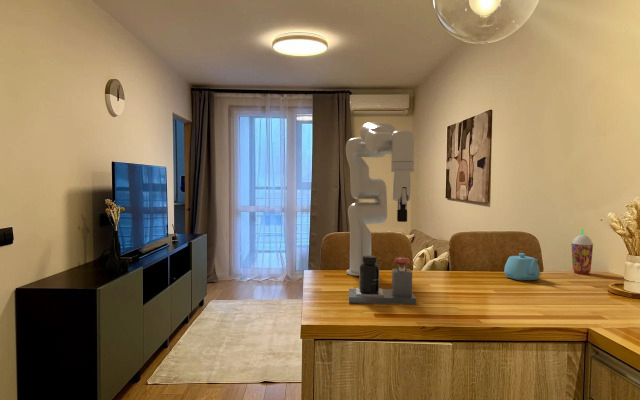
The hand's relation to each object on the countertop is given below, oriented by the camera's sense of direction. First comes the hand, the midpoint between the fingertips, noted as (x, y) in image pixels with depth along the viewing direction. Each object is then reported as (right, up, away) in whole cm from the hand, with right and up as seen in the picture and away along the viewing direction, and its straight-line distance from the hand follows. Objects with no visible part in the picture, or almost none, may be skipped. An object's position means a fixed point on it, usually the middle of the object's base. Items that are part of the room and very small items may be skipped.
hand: (402, 221), depth 144 cm
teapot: (+58, -26, +34) cm, 72 cm away
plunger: (0, -24, +1) cm, 24 cm away
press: (-7, -27, +1) cm, 28 cm away
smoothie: (+89, -26, +46) cm, 104 cm away
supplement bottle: (-11, -24, +2) cm, 27 cm away
